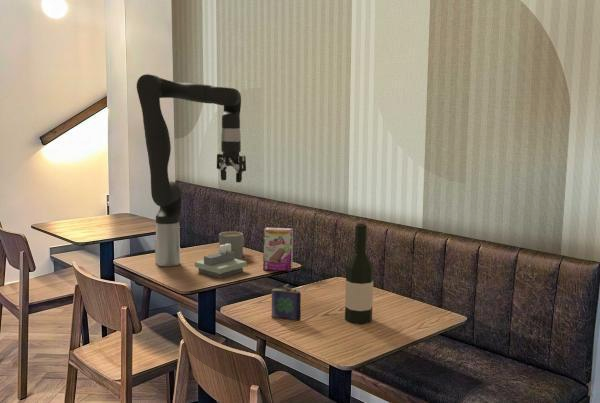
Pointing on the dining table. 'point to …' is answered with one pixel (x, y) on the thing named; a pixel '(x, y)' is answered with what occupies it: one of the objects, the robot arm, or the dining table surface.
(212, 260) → the grey white knobbed block
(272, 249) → the candy bar box
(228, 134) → the robot arm
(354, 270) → the wine bottle
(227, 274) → the green lidded box
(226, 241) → the coffee mug
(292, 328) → the dining table surface
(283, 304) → the flask
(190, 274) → the dining table surface
